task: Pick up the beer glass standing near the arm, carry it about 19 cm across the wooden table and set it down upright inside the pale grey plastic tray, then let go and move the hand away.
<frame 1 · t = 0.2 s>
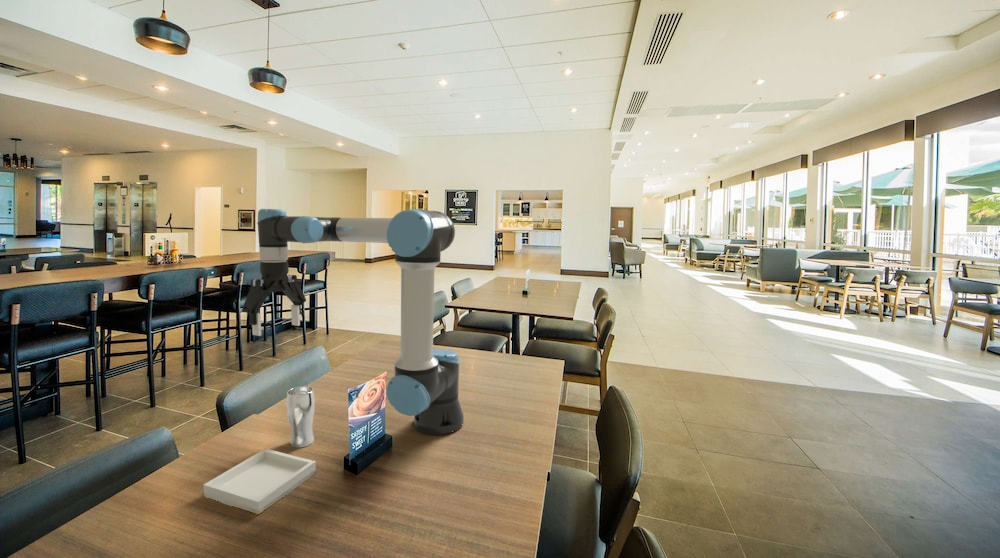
hand: (277, 330, 127), 28 cm above the table, tool pointing down, fingers open, 13 cm apart
beer glass: (302, 442, 115), on the table
tray: (262, 484, 97), on the table
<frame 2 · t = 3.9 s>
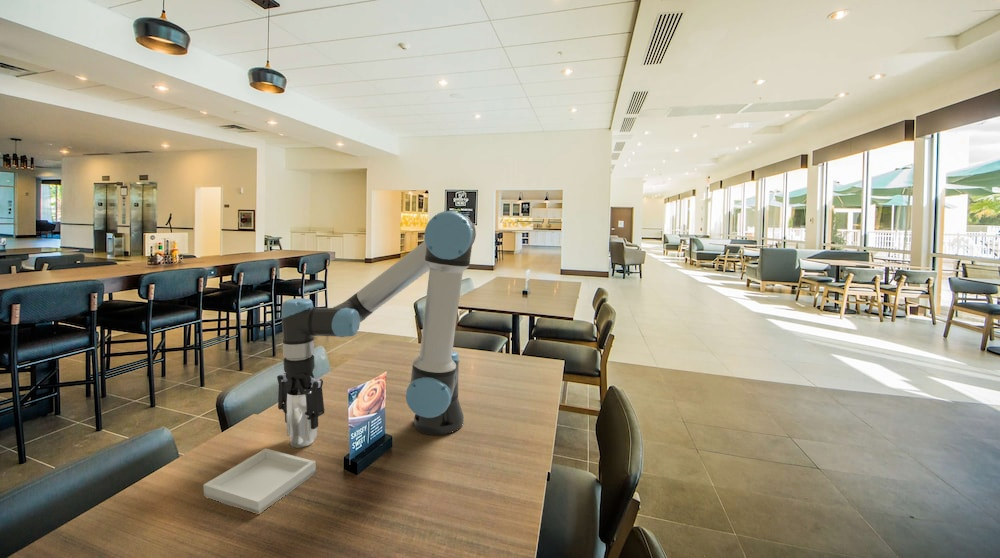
hand: (302, 436, 115), 2 cm above the table, tool pointing down, fingers closed on beer glass, 6 cm apart
beer glass: (302, 442, 115), on the table, touching gripper
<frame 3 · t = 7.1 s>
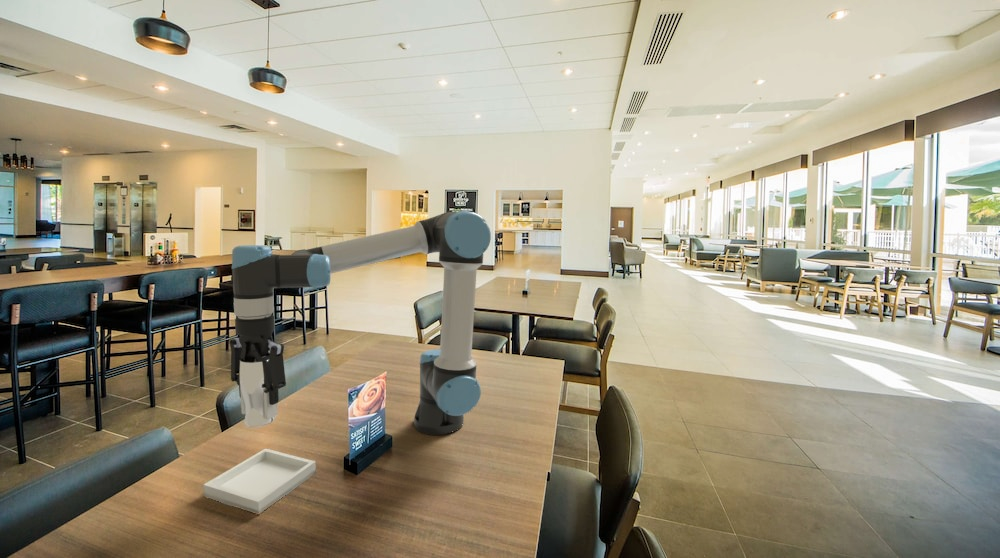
hand: (259, 414, 95), 17 cm above the table, tool pointing down, fingers closed on beer glass, 6 cm apart
beer glass: (260, 422, 95), point 15 cm above the table, touching gripper
when the fingers open (4 cm above the table, at t = 10.2 s): beer glass drops 2 cm, resting on tray.
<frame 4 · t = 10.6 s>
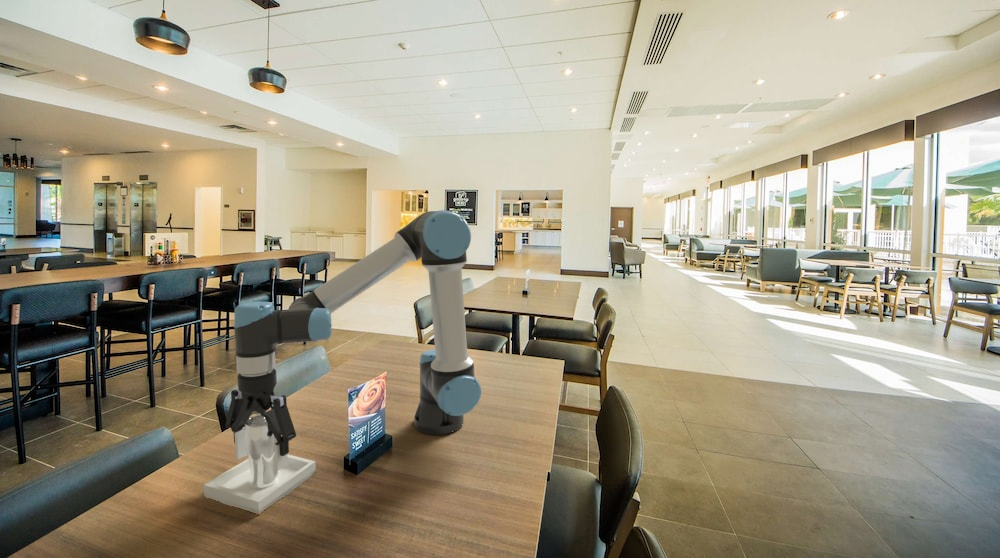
hand: (261, 462, 96), 6 cm above the table, tool pointing down, fingers open, 11 cm apart
beer glass: (264, 481, 96), point 1 cm above the table, touching tray
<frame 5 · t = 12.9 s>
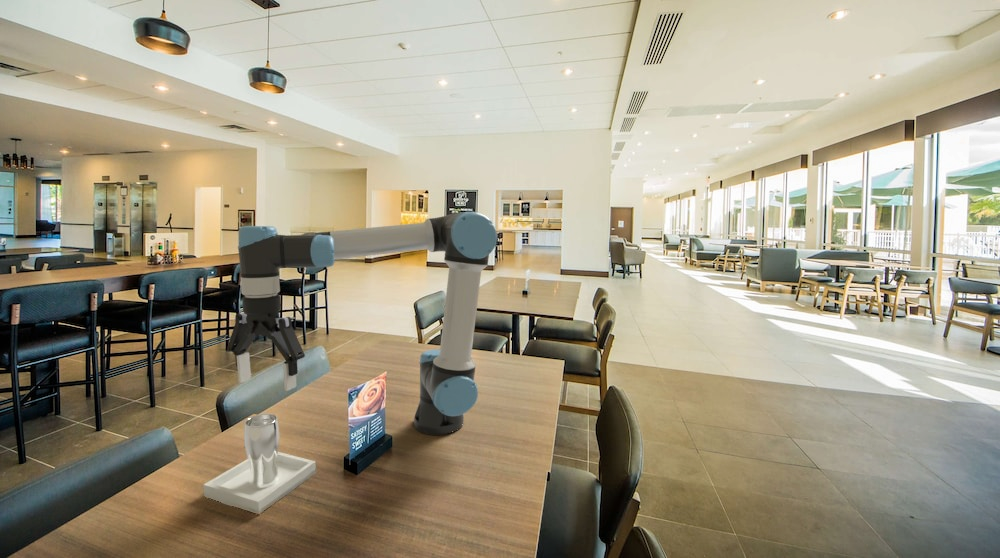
hand: (267, 384, 97), 23 cm above the table, tool pointing down, fingers open, 13 cm apart
nothing on the table moved.
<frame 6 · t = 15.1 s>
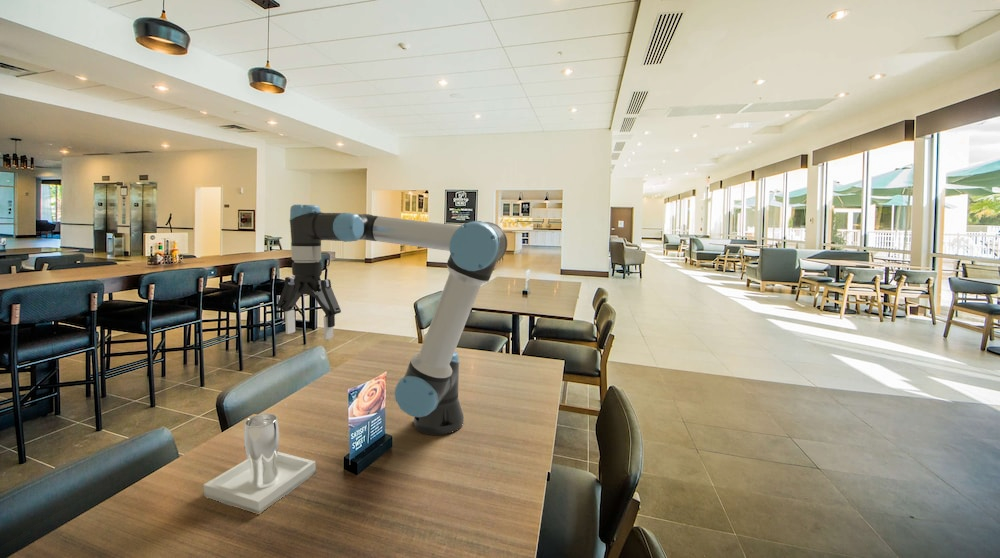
hand: (309, 335, 118), 29 cm above the table, tool pointing down, fingers open, 13 cm apart
nothing on the table moved.
at the end: beer glass inside the target area on the tray (0.5 cm from its centre), point 0.8 cm above the tray's base; beer glass tilted 0°; the gripper is holding nothing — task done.
